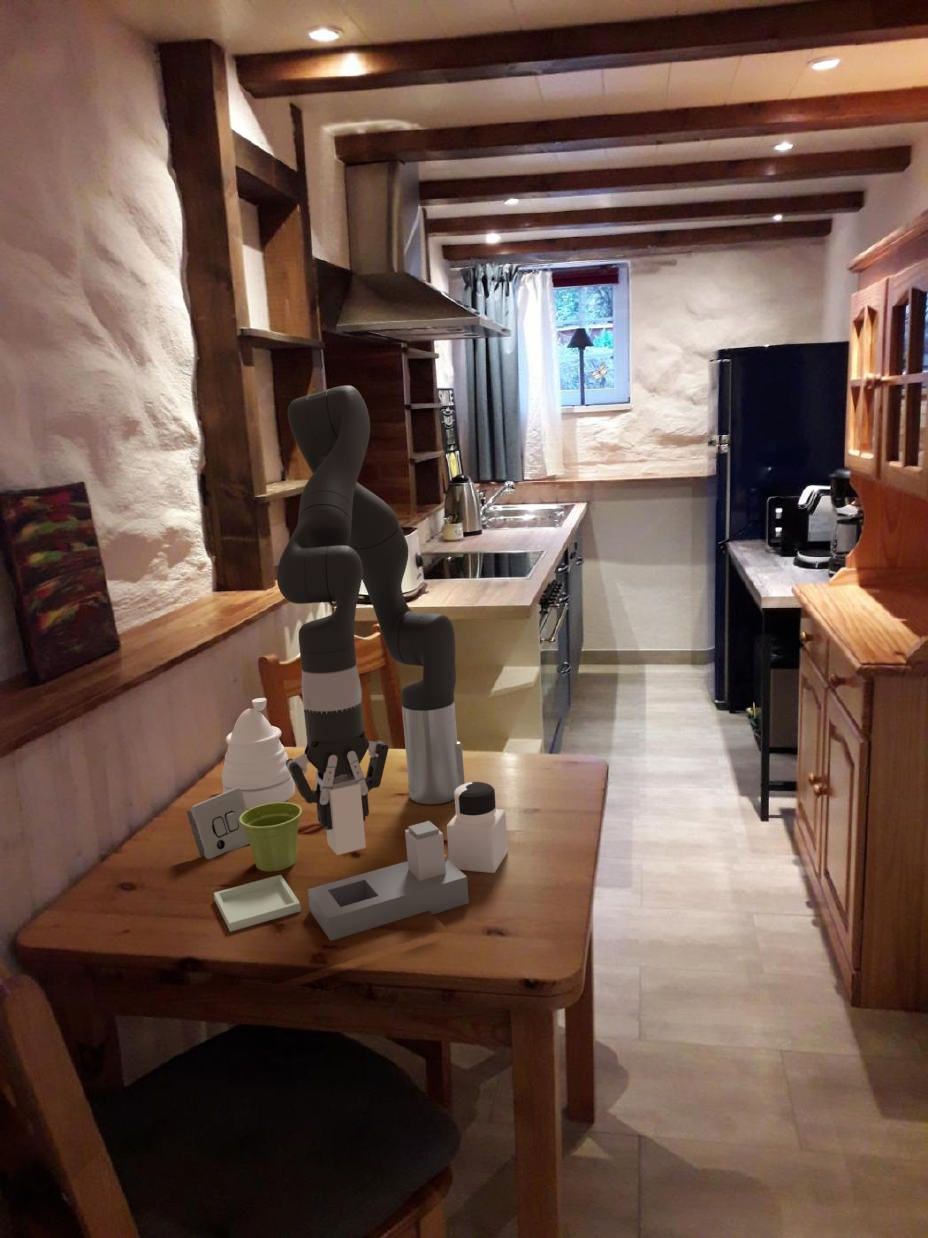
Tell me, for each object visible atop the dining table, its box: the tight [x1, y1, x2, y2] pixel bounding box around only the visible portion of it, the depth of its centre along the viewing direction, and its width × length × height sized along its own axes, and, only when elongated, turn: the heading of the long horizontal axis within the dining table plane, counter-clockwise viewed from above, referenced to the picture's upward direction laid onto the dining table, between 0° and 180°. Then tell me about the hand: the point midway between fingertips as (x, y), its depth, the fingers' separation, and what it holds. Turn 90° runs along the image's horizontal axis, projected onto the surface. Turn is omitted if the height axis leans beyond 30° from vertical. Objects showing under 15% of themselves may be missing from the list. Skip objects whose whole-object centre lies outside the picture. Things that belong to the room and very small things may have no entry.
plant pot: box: [239, 801, 303, 872], centre depth 145 cm, size 9×9×9 cm
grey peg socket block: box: [307, 820, 470, 942], centre depth 130 cm, size 20×9×11 cm, turn 116°
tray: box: [213, 874, 302, 933], centre depth 133 cm, size 10×10×2 cm
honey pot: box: [221, 697, 296, 809], centre depth 173 cm, size 13×13×18 cm
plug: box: [325, 774, 367, 856], centre depth 126 cm, size 4×4×10 cm
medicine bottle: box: [446, 781, 509, 874], centre depth 142 cm, size 7×7×12 cm
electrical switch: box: [186, 788, 250, 860], centre depth 153 cm, size 9×5×9 cm, turn 141°
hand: (344, 823), depth 126 cm, fingers closed on plug, 4 cm apart
